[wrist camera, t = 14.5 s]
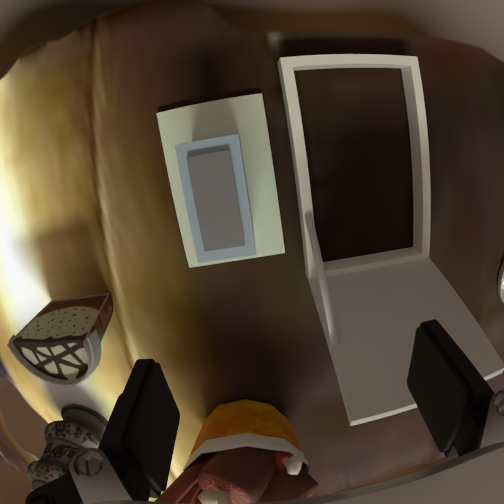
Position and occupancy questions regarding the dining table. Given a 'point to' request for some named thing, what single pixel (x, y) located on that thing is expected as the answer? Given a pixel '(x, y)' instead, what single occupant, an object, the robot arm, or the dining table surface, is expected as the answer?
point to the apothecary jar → (66, 442)
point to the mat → (254, 156)
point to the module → (217, 197)
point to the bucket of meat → (243, 459)
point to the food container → (64, 339)
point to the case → (379, 269)
